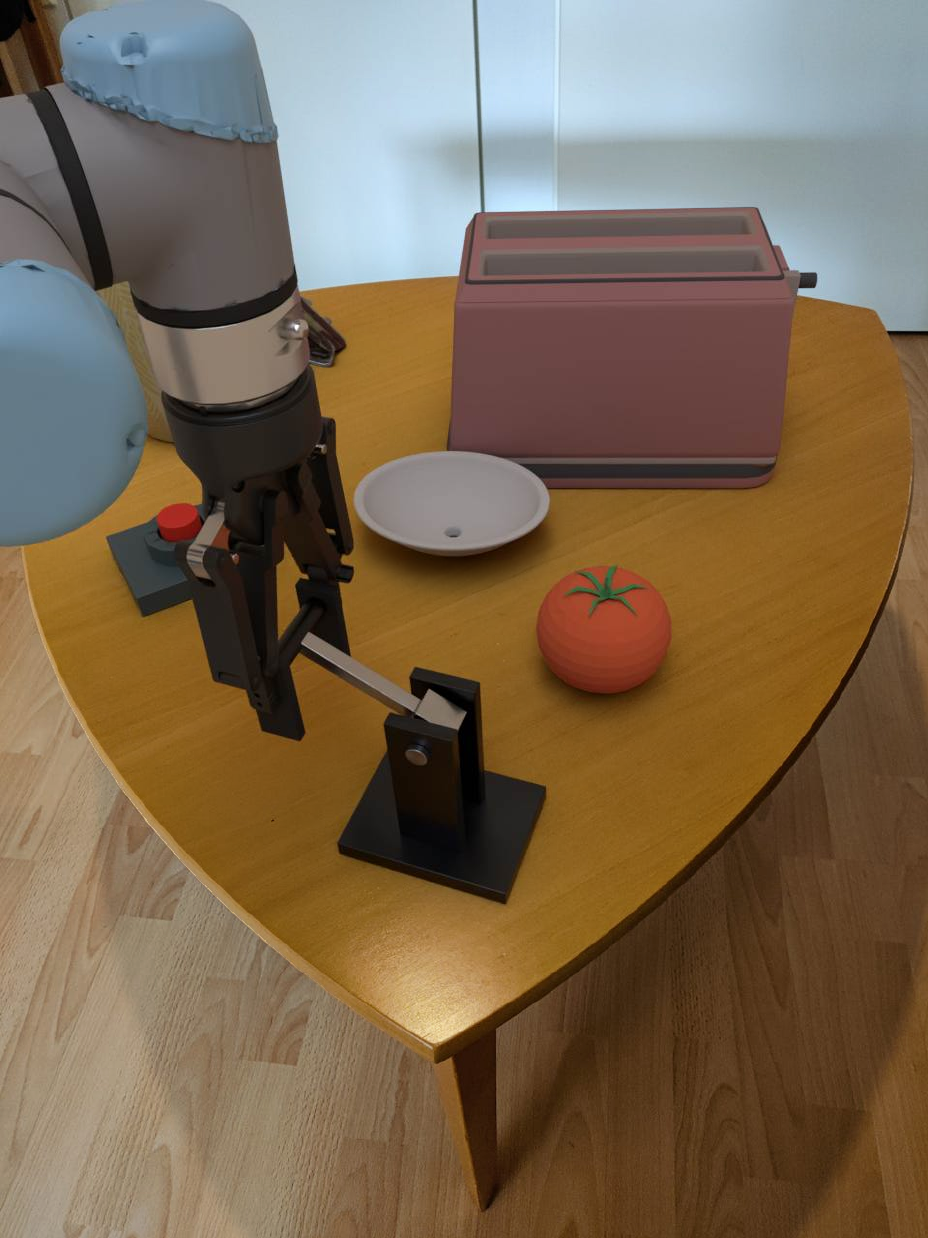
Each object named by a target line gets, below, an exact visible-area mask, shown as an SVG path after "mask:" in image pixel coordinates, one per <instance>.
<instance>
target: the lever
mask: <svg viewBox="0 0 928 1238" xmlns="http://www.w3.org/2000/svg"><path fill="white" fill-rule="evenodd" d="M326 612H327V606H326V604H325V603H324V602H323V601H322V600H320V599H318V598H316V597H310V598H308V599H307V600H306V602H305V603H304V605H303V606H302V608H301V609H300V608H299V610H298V612H297V613H296V614H295V616H294V617H293V619H292V620H291V621H290V623H289V625H287V628H286V629H285V630H284V631H283V633H282V635H280V637H279V638H278V650H279V658H282V659H286V660H289V664H290V666H291V665H292V664H293V663H294V661H295V659H296V658H297V656H298V655H299V654H300V655H301V656H303V657H305V659H308V660H309V661H312V662H313V663H315V664H316V665H318V666H320V667H322V668H323V669H325V670H326V671H328V672H330V673H331V674H333V675H334V676H336V677H338V678H340V680H343V681H345V682H346V683H347V684H349V685H351V686H353V687H354V688H356V689H358V690H359V691H361V692H362V693H364V694H366V695H367V696H369V697H370V698H373V699H374V700H376V701H377V702H379V703H381V704H382V705H383V706H385V707H387V708H389V709H390V710H392V711H393V712H394V713H395V712H396V714H399V715H403V716H407V717H411V718H415V719H419V720H423V721H427V722H431V723H434V724H438V725H442V726H446V727H450V728H454V729H457V732H458V730H459V728H460V726H461V724H462V721H463V719H464V717H465V715H466V713H467V712H466V711H465V710H463V709H462V708H460V707H459V706H457V705H455V704H454V703H452V702H450V701H449V700H447V699H445V698H444V697H442V696H441V695H439V694H437V693H436V692H434V691H432V690H431V689H428V690H427V691H426V693H425V694H424V695H423V697H422V698H421V699H419V698H417V697H415V696H414V695H412V694H411V692H409V691H407V690H406V689H404V688H402V687H401V686H400V685H398V684H395V682H392V680H389V679H388V678H386V677H384V676H383V675H381V674H380V673H378V672H376V671H374V670H373V669H371V668H370V667H368V666H366V665H365V664H363V663H361V662H359V661H358V660H356V658H353V657H352V656H351V657H350V656H348V655H346V654H345V653H343V652H342V651H340V650H338V649H337V648H335V647H333V646H332V645H330V644H328V643H327V642H325V641H324V640H322V639H320V638H319V637H317V636H315V635H314V634H312V633H313V631H314V630H315V628H316V627H317V625H318V624H319V622H320V621H321V619H322V618H323V616H324V615H325V613H326Z"/></svg>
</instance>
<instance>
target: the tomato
mask: <svg viewBox="0 0 928 1238" xmlns="http://www.w3.org/2000/svg"><path fill="white" fill-rule="evenodd" d="M536 619H537V620H536V626H535V631H536V639H537V644H538V645H537V646H538V648H539V650H540V653H541V655H542V657H543V659H544V661H545V663H546V664H547V665H548V667H549V669H550V670H551V671H552V672H553V673H554V674H555V675H556V676H558V677H559V678H560V679H561V680H562V681H563V682H565V683H567V684H568V685H570V686H572V687H574V688H576V689H579V690H582V691H585V692H589V693H593V694H594V693H596V694H613V693H614V694H615V693H621V692H625V691H628V690H631V689H634V688H635V687H637V686H639V685H640V684H642V683H643V682H645V681H646V680H648V679H649V678H651V676H653V675H654V674H655V672H657V670H658V669H659V668H660V666H661V665H662V663H663V662H664V660H665V659H666V657H667V655H668V652H669V648H670V644H671V641H672V618H671V615H670V612H669V609H668V605H667V602H666V601H665V599H664V598H663V596H662V594H661V593H660V592H659V591H658V589H657V588H656V587H655V586H654V585H653V584H652V583H651V582H650V581H648V580H647V579H646V578H644V577H643V576H641V575H639V574H637V573H635V572H634V571H631V570H629V569H626V568H623V567H619V564H615V565H613V566H608V565H597V566H591V567H585V568H581V569H578V570H574V572H573V571H572V572H571V573H569V574H567V575H565V576H564V577H562V578H561V579H560V580H559V581H557V582H556V583H555V584H554V585H553V586H552V587H551V588H550V589H549V591H548V593H547V594H546V595H545V597H544V599H543V601H542V602H541V605H540V607H539V610H538V613H537V618H536Z"/></svg>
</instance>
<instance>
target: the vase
mask: <svg viewBox="0 0 928 1238" xmlns="http://www.w3.org/2000/svg"><path fill="white" fill-rule="evenodd" d="M95 292H96V293H97V294H98V295H99V296H100V297H101V298H102V299H103V301H104V302H105V303H106V304H107V305H108V307H109V308H110V309H111V310H112V311H113V312H114V314H115V315H116V316H117V323H118V324H119V326H120V327H121V329H122V331H123V333H124V335H125V341H126V346H127V348H128V351H129V354H130V356H131V359H132V361H133V364H134V366H135V369H136V371H137V374H138V376H139V379H140V381H141V384H142V388H143V391H144V395H145V399H146V406H147V413H148V427H149V433H148V435H147V436H150V437H151V438H153V439H157V440H160V441H161V442H162V441H163V442H167V443H174V442H173V439H172V435H171V432H170V429H169V425H168V422H167V418H166V415H165V411H164V408H163V404H162V400H161V392H162V390H161V389H160V388H159V387H158V385H157V383H156V381H155V379H154V377H153V373H152V370H151V366H150V363H149V359H148V355H147V352H146V348H145V344H144V341H143V337H142V333H141V330H140V326H139V323H138V319H137V315H136V312H135V308H134V303H133V299H132V296H131V292H130V286H129V283H128V281H126V282H122V283H118V284H114V285H112V287H109V288H105V289H101V290H97V291H95Z"/></svg>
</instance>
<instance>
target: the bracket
mask: <svg viewBox="0 0 928 1238" xmlns="http://www.w3.org/2000/svg"><path fill="white" fill-rule="evenodd" d="M408 680H409V687H410V693H411V694H412V695H414V696H415V697H417V698H419V699H421V698H422V697H423V695H424V694H425V693H426V691H427V690H428V689H431V690H432V691H434V692H436V693H437V694H439V695H441V696H442V697H444V698H445V699H447V700H449V701H450V702H452V703H454V704H455V705H457V706H459V707H460V708H462V709H463V710H465V711H466V712H467V713H466V715H465V717H464V719H463V721H462V724H461V726H460V728H459V730H458V732H457V729H454V728H450V727H446V726H442V725H438V724H434V723H431V722H427V721H423V720H419V719H415V718H411V717H407V716H403V715H400V714H399V713H395V712H391V711H389V712H388V714H387V716H386V718H385V720H384V721H383V723H382V725H383V731H384V739H385V745H386V751H385V752H384V755H383V756H382V757H381V760H380V762H379V764H378V766H377V767H376V769H375V771H374V773H373V775H372V777H371V778H370V781H369V783H368V784H367V786H366V788H365V790H364V792H363V794H362V796H361V798H360V799H359V801H358V803H357V805H356V807H355V809H354V810H353V812H352V814H351V816H350V818H349V820H348V822H347V824H346V826H345V827H344V829H343V831H342V833H341V835H340V837H339V838H338V840H337V842H336V845H337V850H338V853H339V854H340V855H343V856H344V857H345V856H346V857H349V858H352V859H356V860H359V861H361V862H365V863H369V864H371V865H375V866H377V867H381V868H384V869H388V870H391V871H395V872H397V873H401V874H403V875H404V874H405V875H408V876H411V877H415V878H418V879H421V880H424V881H427V882H431V883H433V884H438V885H440V886H444V887H447V888H450V889H454V890H457V891H460V892H463V893H468V894H470V895H473V896H477V897H480V898H483V899H486V900H489V901H493V902H495V903H500V904H503V905H507V903H508V900H509V898H510V894H511V892H512V890H513V886H514V884H515V881H516V879H517V877H518V874H519V871H520V869H521V865H522V863H523V861H524V857H525V855H526V852H527V849H528V847H529V844H530V841H531V839H532V837H533V834H534V831H535V828H536V826H537V824H538V821H539V818H540V815H541V813H542V810H543V807H544V804H545V802H546V800H547V786H546V785H542V784H538V783H534V782H531V781H528V780H523V779H520V778H516V777H512V776H508V775H505V774H500V773H497V772H493V771H490V770H486V769H485V755H484V735H483V715H482V713H483V712H482V695H481V692H482V691H481V682H480V681H478V680H474V679H468V678H464V677H461V676H457V675H452V674H448V673H444V672H439V671H435V670H431V669H429V668H422V667H420V666H419V667H418V666H414V667H413V669H412V671H411V673H410V675H409V676H408Z"/></svg>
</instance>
